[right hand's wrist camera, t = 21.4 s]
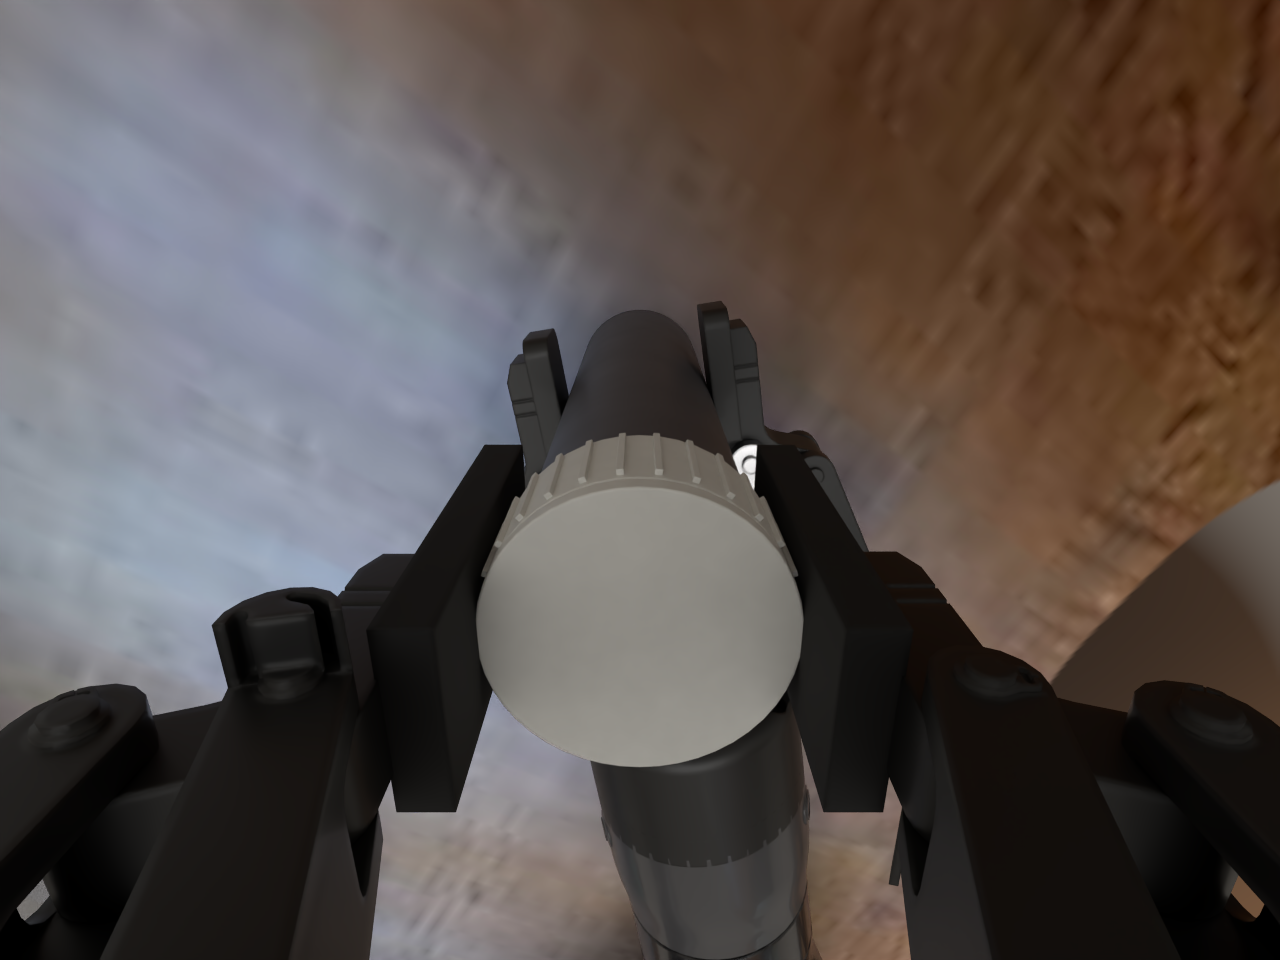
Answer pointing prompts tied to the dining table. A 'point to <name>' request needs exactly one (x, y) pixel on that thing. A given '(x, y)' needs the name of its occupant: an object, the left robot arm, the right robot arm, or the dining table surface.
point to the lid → (639, 604)
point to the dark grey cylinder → (639, 388)
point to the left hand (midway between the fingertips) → (625, 323)
